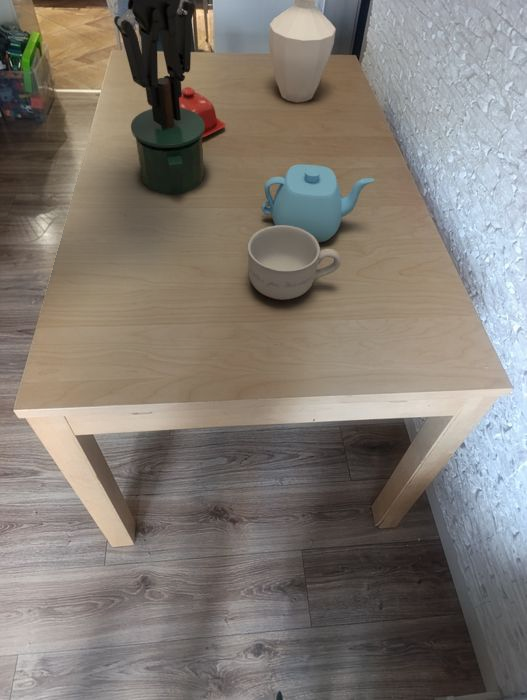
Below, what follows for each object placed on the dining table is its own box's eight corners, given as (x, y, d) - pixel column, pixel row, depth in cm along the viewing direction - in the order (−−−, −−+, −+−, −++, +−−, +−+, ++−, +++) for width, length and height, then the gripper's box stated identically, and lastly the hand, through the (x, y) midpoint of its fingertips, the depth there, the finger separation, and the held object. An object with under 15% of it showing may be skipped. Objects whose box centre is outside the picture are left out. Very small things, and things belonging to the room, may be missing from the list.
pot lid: (135, 154, 84) (126, 103, 77) (128, 115, 92) (120, 65, 85) (210, 147, 87) (208, 97, 80) (198, 110, 94) (195, 61, 87)
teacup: (238, 301, 77) (239, 262, 71) (255, 255, 84) (257, 216, 77) (327, 320, 76) (336, 282, 69) (338, 272, 82) (346, 233, 76)
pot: (147, 205, 90) (140, 163, 84) (137, 153, 100) (131, 111, 93) (210, 198, 92) (209, 156, 86) (195, 148, 102) (193, 107, 96)
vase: (327, 110, 114) (347, -21, 95) (265, 106, 114) (272, -26, 94) (324, 81, 123) (342, -45, 103) (266, 77, 123) (273, -49, 103)
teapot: (377, 199, 77) (261, 189, 77) (363, 252, 86) (258, 243, 86) (372, 154, 85) (266, 145, 85) (360, 206, 93) (263, 198, 93)
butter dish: (229, 130, 107) (228, 89, 100) (188, 150, 102) (185, 109, 95) (193, 109, 112) (190, 69, 105) (152, 127, 106) (146, 86, 99)
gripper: (117, -28, 64) (143, 144, 83) (210, -49, 71) (214, 114, 90) (85, -44, 67) (117, 125, 86) (177, -62, 74) (188, 98, 93)
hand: (167, 119), depth 88 cm, fingers closed on pot lid, 2 cm apart
